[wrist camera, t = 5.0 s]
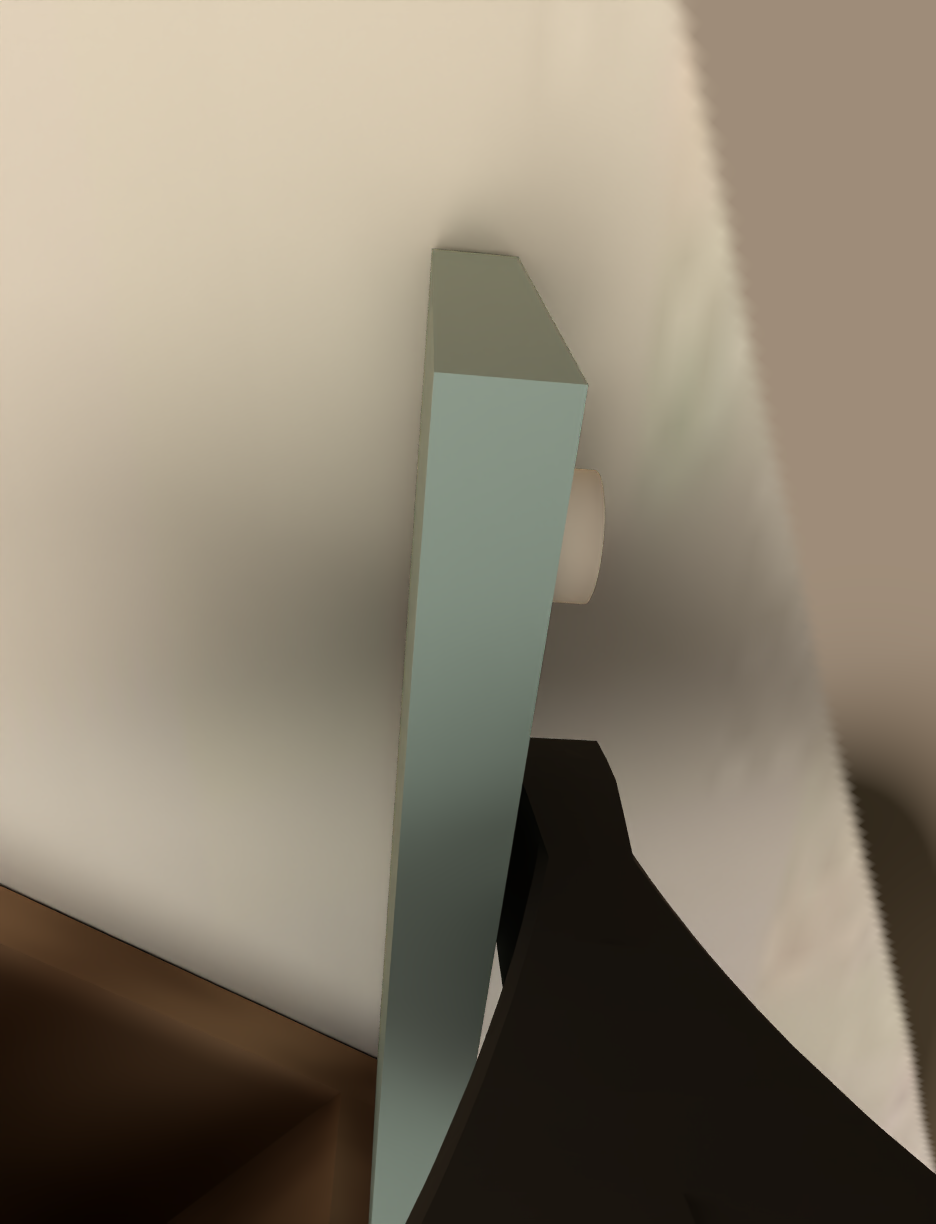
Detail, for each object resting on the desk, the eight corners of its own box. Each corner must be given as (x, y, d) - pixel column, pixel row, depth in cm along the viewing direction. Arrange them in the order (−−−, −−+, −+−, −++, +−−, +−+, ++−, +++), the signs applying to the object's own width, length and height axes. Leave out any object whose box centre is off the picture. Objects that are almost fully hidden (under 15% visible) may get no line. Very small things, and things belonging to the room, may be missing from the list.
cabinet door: (461, 1076, 18) (471, 1390, 14) (376, 1075, 18) (358, 1391, 14) (585, 263, 10) (709, 394, 6) (432, 248, 10) (433, 371, 6)
